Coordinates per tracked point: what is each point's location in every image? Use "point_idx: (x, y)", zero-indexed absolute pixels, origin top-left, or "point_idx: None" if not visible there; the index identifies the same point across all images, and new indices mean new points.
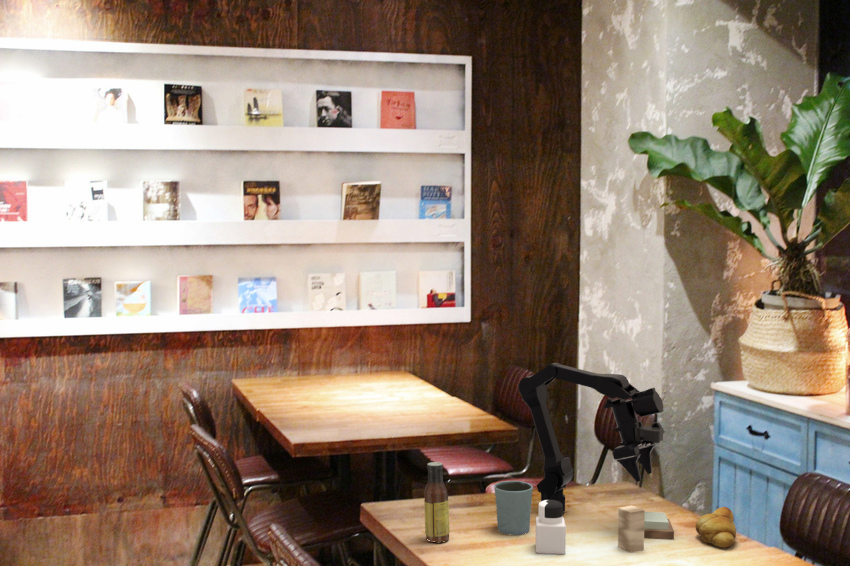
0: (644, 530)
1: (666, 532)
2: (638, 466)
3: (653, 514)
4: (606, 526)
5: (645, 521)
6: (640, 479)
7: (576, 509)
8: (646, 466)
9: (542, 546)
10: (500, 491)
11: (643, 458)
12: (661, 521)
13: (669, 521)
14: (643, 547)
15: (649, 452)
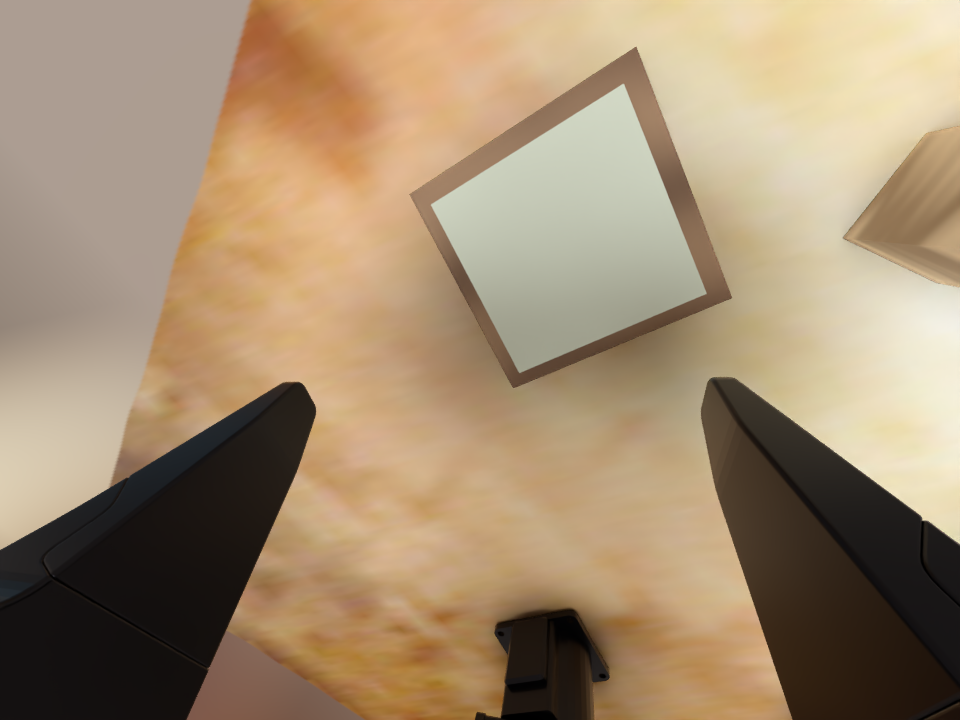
0: (703, 224)
1: (654, 96)
2: (867, 555)
3: (511, 247)
4: (609, 437)
5: (681, 233)
6: (728, 384)
7: (468, 586)
8: (265, 470)
9: None
10: None
11: (188, 584)
12: (629, 138)
13: (453, 169)
14: (941, 132)
15: (5, 609)
